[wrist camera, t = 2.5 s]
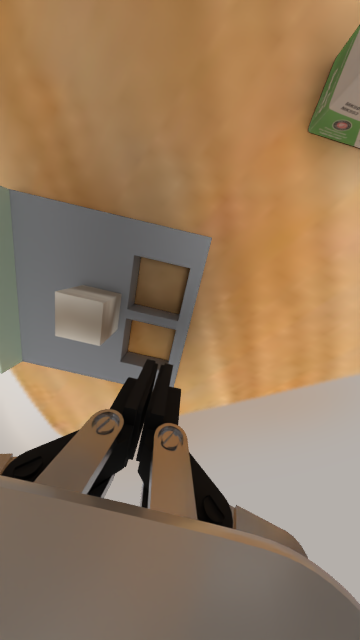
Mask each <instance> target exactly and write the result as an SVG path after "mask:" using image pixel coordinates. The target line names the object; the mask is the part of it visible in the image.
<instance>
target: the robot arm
mask: <svg viewBox="0 0 360 640" xmlns="http://www.w3.org/2000/svg"><path fill="white" fill-rule="evenodd" d="M157 369H158V364H157V363H156V361H154V360H150V359H147V360H146V362H145V364H144V366H143V368H142V371H141V373H140V375H139V377H138V379H135V378H131V377H128V378H127V380H126V382H125V383H124V385H123V387H122V389H121V390H120V392H119V394H118V396H117V397H116V399H115V401H114V403H113V404H112V406H111V408H110V409H105V410H101V411H99V412H97V413H95V414H94V415H93V416H92V417H91V418H90V419H89V420H88V421H87V422H86V423H85V424H84V426H83V427H82V428H81V429H80V430H78V431H75V432H73V433H71V434H68V435H66V436H63V437H61V438H58V439H56V440H54V441H51V442H49V443H46V444H44V445H41V446H39V447H37V448H34V449H32V450H29V451H27V452H25V453H23V454H21V455H19V456H18V457H13V454H0V640H360V604H359V603H358V602H357V601H356V599H355V598H354V597H353V596H352V595H351V594H350V593H349V592H348V591H347V590H346V589H345V588H344V587H343V586H342V585H341V584H340V583H339V582H337V581H336V580H335V579H334V578H333V577H332V576H330V575H329V574H328V573H326V572H325V571H324V570H323V569H321V568H320V567H319V566H318V565H316V564H315V563H313V562H312V561H310V560H309V559H308V557H307V555H306V553H305V551H304V550H303V548H302V546H301V545H300V544H299V542H298V541H297V540H296V539H295V538H294V537H293V536H292V535H291V534H289V533H288V532H286V531H285V530H283V529H281V528H279V527H277V526H275V525H273V524H272V523H269V522H268V521H266V520H264V519H262V518H260V517H258V516H256V515H254V514H252V513H250V512H249V511H247V510H245V509H243V508H241V507H239V506H237V505H236V507H235V508H234V507H232V506H230V505H229V504H228V502H227V500H226V499H225V497H224V496H223V495H222V493H221V492H220V491H219V489H218V488H217V487H216V486H215V484H214V483H213V482H212V481H211V479H210V478H209V477H208V476H207V474H206V473H205V472H204V470H203V469H202V468H201V467H200V465H199V464H198V463H197V462H196V461H195V459H194V458H193V456H192V455H191V454H190V453H189V450H188V441H187V436H186V434H185V432H184V430H183V429H182V428H181V427H179V426H178V420H179V408H180V397H181V389H178V388H174V387H170V380H171V375H172V370H173V365H171V364H167V363H165V365H161V366H160V370H159V373H158V376H157V379H156V382H155V378H156V373H157ZM154 383H155V386H154ZM153 387H154V389H153ZM143 424H144V425H143ZM142 428H143V431H142ZM141 431H142V435H141V440H140V445H139V449H138V454H137V458H136V461H140V463H139V468H138V473H139V475H140V477H141V479H142V481H143V485H142V493H141V503H140V507H138V506H135V505H130V504H126V503H122V502H117V501H113V500H109V499H104V496H105V495H106V493H107V491H108V489H109V487H110V485H111V483H112V481H113V478H114V476H115V473H117V472H118V471H120V470H122V469H123V468H124V467H126V465H127V462H128V459H131V460H133V457H134V454H135V451H136V447H137V444H138V441H139V437H140V434H141Z"/></svg>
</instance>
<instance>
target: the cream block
mask: <svg viewBox="0 0 360 640" xmlns="http://www.w3.org/2000/svg"><path fill="white" fill-rule="evenodd" d="M121 295H122V294H120V293H115V292H111V291H107V290H102V289H98V288H94V287H90V286H85V285H81V286H77V287H73V288H68V289H64V290H60V291H55V336H58V337H62V338H67V339H71V340H76V341H80V342H84V343H89V344H93V345H97V346H100V345H102V344H103V343H104V342H105V341H106V340H107V339H108V338H109V337H110V336H111V335H112V334H113V333H114V332H115V331H116V330H117V329H118V321H119V313H120V304H121Z"/></svg>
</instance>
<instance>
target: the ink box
mask: <svg viewBox="0 0 360 640" xmlns="http://www.w3.org/2000/svg"><path fill="white" fill-rule="evenodd" d="M308 131H309V132H310V133H314V134H316V135H320V136H323V137H326V138H329V139H332V140H335V141H339V142H342V143H345V144H348V145H351V146H355V147H357V148H360V25H359V26H358V28H357V29H356V31H355V32H354V34H353V35H352V36H351V38H350V39H349V40H348V42H347V43H346V45H345V46H344V47H343V49H342V50H341V52H340V53H339V54H338V56H337V57H336V59H335V62H334V64H333V67H332V69H331V72H330V74H329V77H328V79H327V82H326V84H325V87H324V90H323V92H322V95H321V97H320V100H319V102H318V104H317V107H316V110H315V112H314V115H313V117H312V120H311V123H310V125H309V129H308Z"/></svg>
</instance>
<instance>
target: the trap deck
mask: <svg viewBox="0 0 360 640" xmlns="http://www.w3.org/2000/svg"><path fill="white" fill-rule="evenodd" d="M211 240H212V238H211V237H207V236H202V235H198V234H194V233H190V232H186V231H181V230H177V229H173V228H169V227H165V226H161V225H156V224H152V223H148V222H144V221H140V220H136V219H131V218H127V217H123V216H119V215H115V214H111V213H106V212H102V211H98V210H94V209H90V208H85V207H81V206H77V205H73V204H69V203H65V202H60V201H56V200H52V199H48V198H44V197H40V196H35V195H31V194H27V193H23V192H19V191H15V190H10V189H7V188H5V187H2V186H0V373H1V374H2V373H3V372H5V371H7V370H9V369H10V368H12V367H14V366H15V365H17V364H19V363H20V362H22V361H24V362H28V363H33V364H37V365H41V366H46V367H50V368H55V369H59V370H64V371H68V372H72V373H77V374H81V375H86V376H90V377H95V378H99V379H103V380H108V381H112V382H117V383H121V384H124V383H125V382H126V380H127V378H128V377H131V378H135V379H138V377H139V375H140V373H141V371H142V368H143V366H144V364H145V362H146V360H147V359H150V360H154V361H156V363H157V364H158V369H157V373H156V378H155V382H156V379H157V376H158V373H159V370H160V366H161V365H165V363H167V364H171V365H173V370H172V375H171V380H170V387H174V383H175V379H176V375H177V371H178V367H179V364H180V360H181V356H182V352H183V348H184V344H185V340H186V336H187V333H188V329H189V325H190V321H191V317H192V313H193V309H194V305H195V302H196V298H197V294H198V290H199V286H200V282H201V278H202V275H203V271H204V267H205V263H206V259H207V255H208V251H209V247H210V244H211ZM141 257H145V258H149V259H153V260H157V261H162V262H166V263H170V264H174V265H178V266H183V267H187V268H190V272H189V277H188V281H187V285H186V289H185V294H184V298H183V302H182V306H181V311H180V314H175V313H171V312H167V311H163V310H158V309H154V308H150V307H145V306H141V305H137V304H134V302H135V295H136V288H137V281H138V274H139V267H140V260H141ZM81 285H85V286H90V287H94V288H98V289H102V290H107V291H111V292H115V293H120V294H122V295H121V304H120V313H119V321H118V329H117V330H116V331H115V332H114V333H113V334H112V335H111V336H110V337H109V338H108V339H107V340H106V341H105V342H104V343H103V344H102V345H100V346H97V345H93V344H89V343H84V342H80V341H76V340H71V339H67V338H62V337H58V336H55V291H60V290H64V289H68V288H73V287H77V286H81ZM132 320H135V321H140V322H144V323H148V324H153V325H157V326H161V327H166V328H170V329H174V330H176V332H175V336H174V341H173V345H172V349H171V353H170V358H169V361H167V360H162V359H158V358H154V357H149V356H145V355H140V354H136V353H132V352H127V351H128V344H129V337H130V330H131V323H132ZM154 386H155V383H154ZM153 389H154V387H153Z"/></svg>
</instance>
